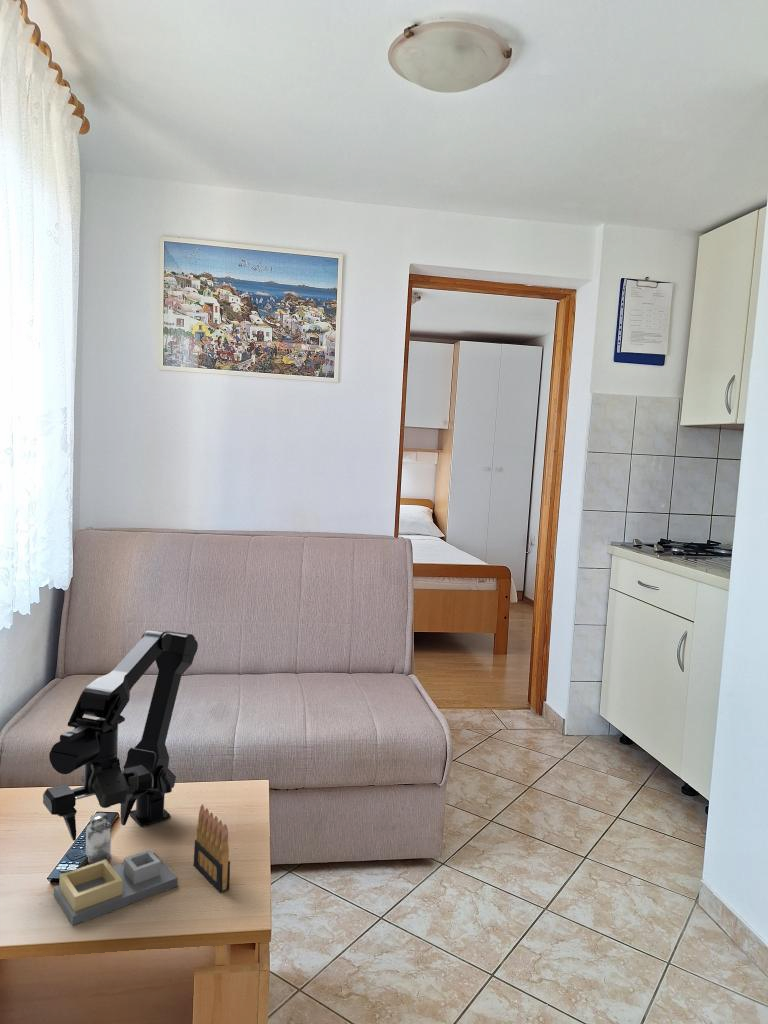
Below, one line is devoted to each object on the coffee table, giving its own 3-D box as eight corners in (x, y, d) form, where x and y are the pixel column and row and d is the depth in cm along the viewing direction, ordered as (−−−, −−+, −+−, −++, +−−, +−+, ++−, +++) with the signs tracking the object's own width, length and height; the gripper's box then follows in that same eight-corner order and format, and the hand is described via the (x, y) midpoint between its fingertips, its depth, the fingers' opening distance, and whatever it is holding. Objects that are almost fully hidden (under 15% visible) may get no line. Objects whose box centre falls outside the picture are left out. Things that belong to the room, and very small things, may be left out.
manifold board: (53, 894, 121) (54, 872, 121) (154, 860, 133) (154, 839, 133) (72, 925, 114) (73, 901, 114) (177, 885, 126) (178, 864, 125)
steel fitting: (82, 856, 133) (83, 815, 133) (105, 848, 136) (106, 808, 136) (90, 866, 130) (91, 825, 129) (113, 859, 133) (115, 818, 132)
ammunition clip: (229, 889, 125) (232, 824, 125) (220, 893, 124) (223, 828, 123) (202, 862, 134) (204, 801, 133) (193, 865, 132) (195, 803, 131)
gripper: (62, 781, 120) (60, 869, 121) (167, 755, 132) (164, 835, 133) (42, 758, 128) (41, 840, 129) (143, 735, 140) (140, 811, 141)
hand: (99, 832), depth 133 cm, fingers open, 9 cm apart
